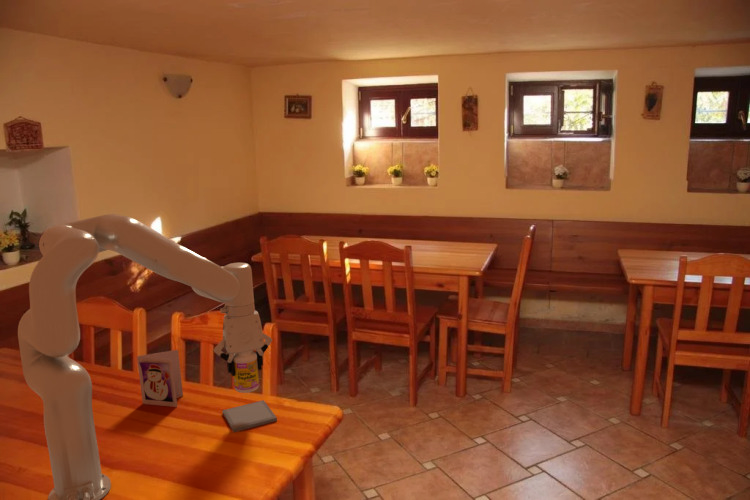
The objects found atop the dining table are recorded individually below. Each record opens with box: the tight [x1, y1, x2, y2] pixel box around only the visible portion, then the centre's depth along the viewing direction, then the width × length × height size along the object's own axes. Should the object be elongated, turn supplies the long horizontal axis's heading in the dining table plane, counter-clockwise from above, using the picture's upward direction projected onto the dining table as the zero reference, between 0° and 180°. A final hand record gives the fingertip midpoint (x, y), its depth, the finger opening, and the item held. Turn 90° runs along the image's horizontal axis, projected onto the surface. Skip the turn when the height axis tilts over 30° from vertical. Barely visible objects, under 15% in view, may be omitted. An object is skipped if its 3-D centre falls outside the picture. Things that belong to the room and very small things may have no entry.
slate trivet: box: [222, 399, 278, 433], centre depth 166 cm, size 12×12×1 cm
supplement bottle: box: [232, 350, 260, 394], centre depth 163 cm, size 7×7×13 cm
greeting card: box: [136, 349, 184, 408], centre depth 176 cm, size 11×7×15 cm, turn 76°
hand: (245, 370), depth 163 cm, fingers closed on supplement bottle, 6 cm apart
